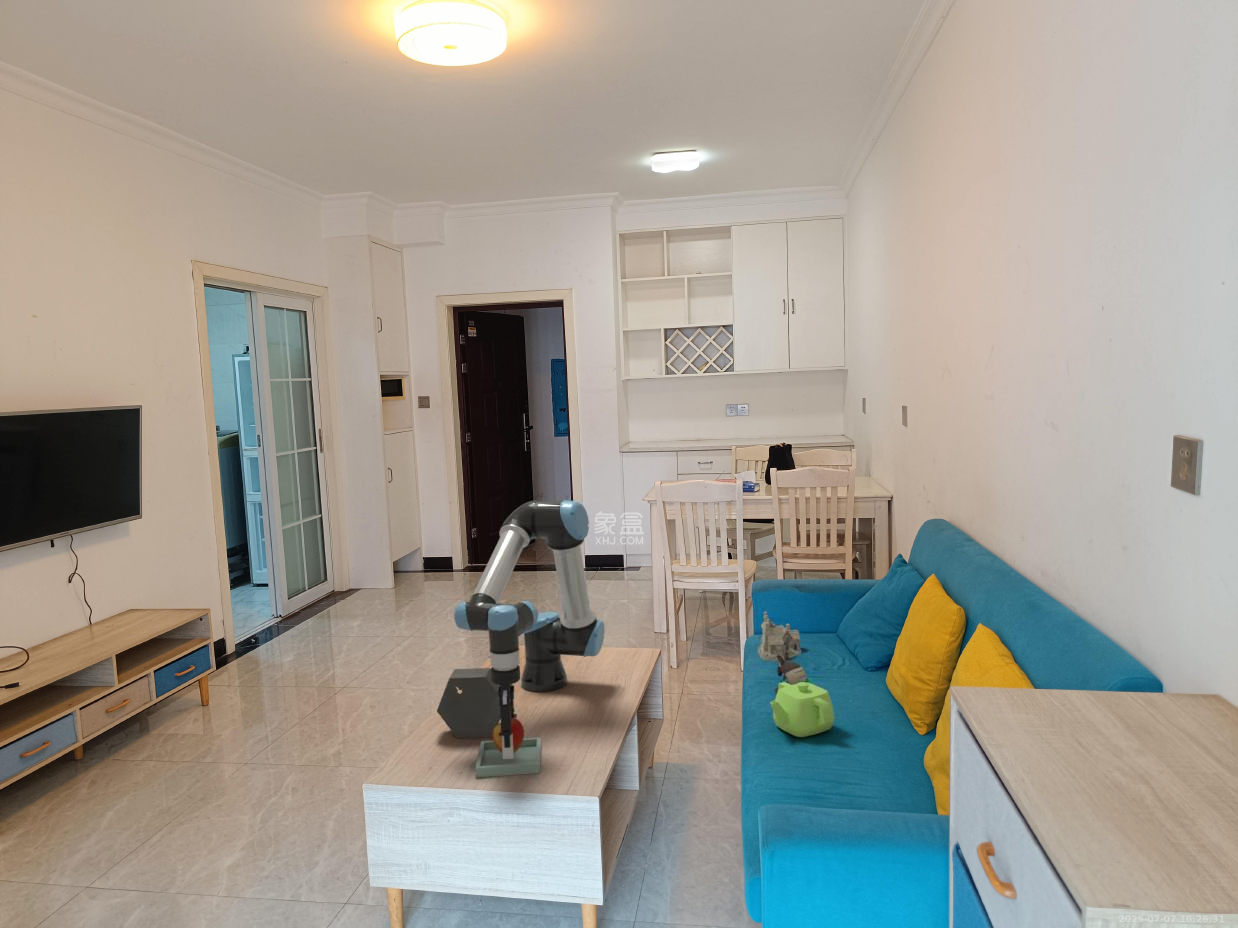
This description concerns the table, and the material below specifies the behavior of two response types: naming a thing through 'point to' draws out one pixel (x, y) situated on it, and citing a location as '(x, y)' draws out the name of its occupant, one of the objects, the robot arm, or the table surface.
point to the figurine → (791, 671)
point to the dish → (522, 762)
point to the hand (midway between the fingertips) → (509, 750)
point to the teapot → (802, 709)
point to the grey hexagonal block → (470, 703)
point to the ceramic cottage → (778, 641)
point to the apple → (516, 731)
